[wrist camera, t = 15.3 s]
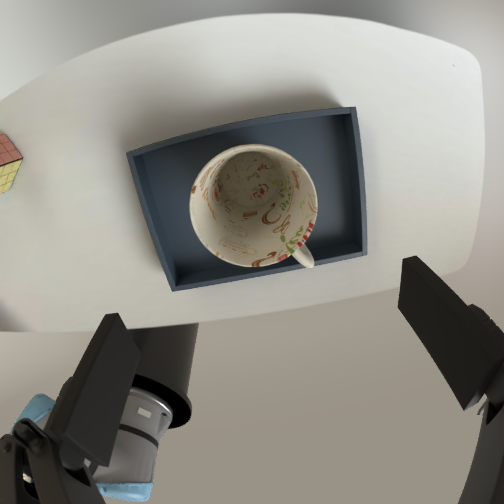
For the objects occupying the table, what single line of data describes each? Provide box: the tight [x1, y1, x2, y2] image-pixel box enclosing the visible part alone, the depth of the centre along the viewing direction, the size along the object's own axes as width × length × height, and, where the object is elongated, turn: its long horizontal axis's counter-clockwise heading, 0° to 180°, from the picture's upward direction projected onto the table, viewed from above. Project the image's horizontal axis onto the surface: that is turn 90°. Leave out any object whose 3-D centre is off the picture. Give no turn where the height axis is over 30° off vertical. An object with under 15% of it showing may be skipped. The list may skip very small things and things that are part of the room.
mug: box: [189, 144, 318, 268], centre depth 23 cm, size 8×13×10 cm, turn 43°
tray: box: [126, 107, 367, 292], centre depth 27 cm, size 21×15×3 cm
